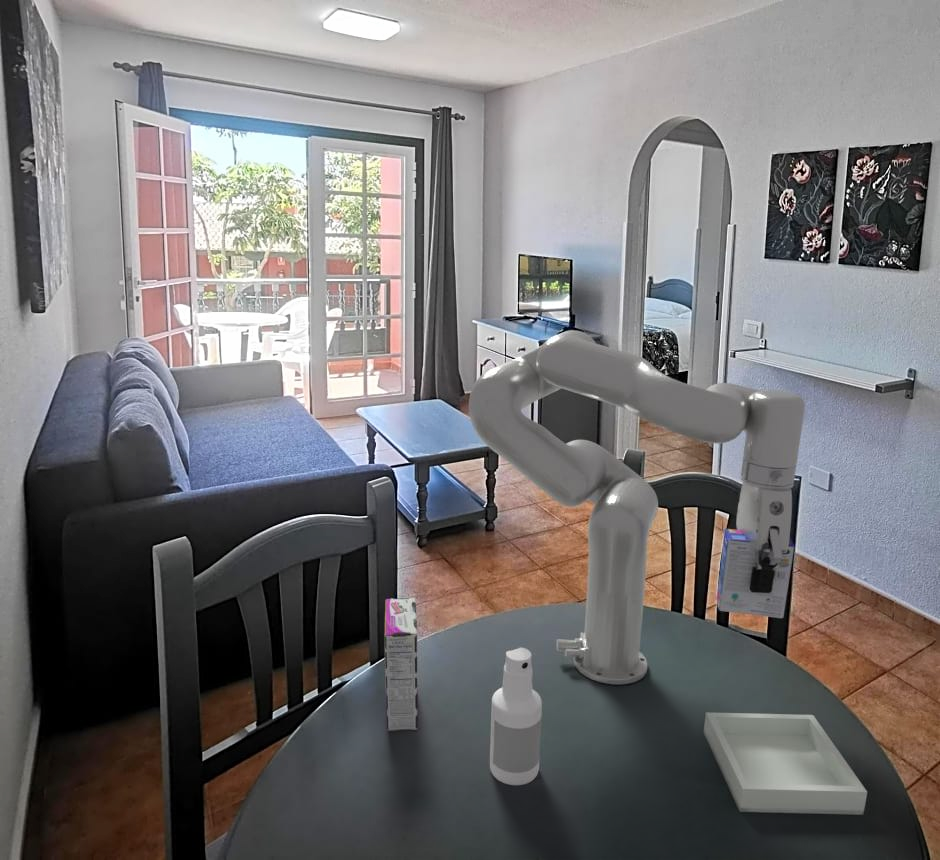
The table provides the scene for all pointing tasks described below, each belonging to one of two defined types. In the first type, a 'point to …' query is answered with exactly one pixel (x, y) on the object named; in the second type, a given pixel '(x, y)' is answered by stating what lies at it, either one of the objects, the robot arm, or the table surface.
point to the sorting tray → (782, 764)
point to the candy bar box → (401, 664)
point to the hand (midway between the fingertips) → (752, 580)
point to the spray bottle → (516, 722)
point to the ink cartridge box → (738, 577)
